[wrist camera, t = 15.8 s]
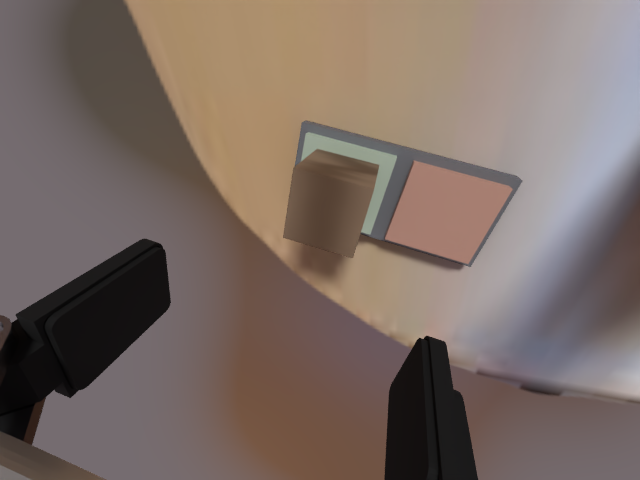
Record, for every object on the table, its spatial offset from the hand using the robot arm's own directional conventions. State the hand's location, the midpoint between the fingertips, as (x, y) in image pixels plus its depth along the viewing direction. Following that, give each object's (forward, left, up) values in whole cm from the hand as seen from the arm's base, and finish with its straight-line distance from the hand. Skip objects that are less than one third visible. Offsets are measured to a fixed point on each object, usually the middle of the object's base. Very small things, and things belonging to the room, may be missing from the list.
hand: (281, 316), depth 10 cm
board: (-4, 0, -17) cm, 18 cm away
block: (0, 0, -15) cm, 15 cm away
